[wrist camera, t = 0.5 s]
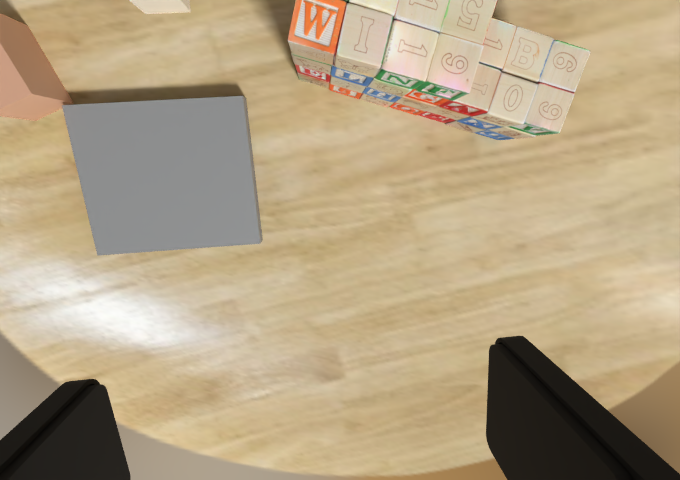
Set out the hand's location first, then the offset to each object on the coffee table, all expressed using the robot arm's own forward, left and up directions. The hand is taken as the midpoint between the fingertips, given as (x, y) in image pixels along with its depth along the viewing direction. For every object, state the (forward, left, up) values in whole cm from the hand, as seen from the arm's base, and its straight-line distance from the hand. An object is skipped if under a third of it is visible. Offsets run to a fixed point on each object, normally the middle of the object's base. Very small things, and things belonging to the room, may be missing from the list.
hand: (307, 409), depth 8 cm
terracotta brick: (-15, -25, -29) cm, 41 cm away
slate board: (-5, -14, -29) cm, 32 cm away
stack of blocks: (-13, +10, -29) cm, 33 cm away
